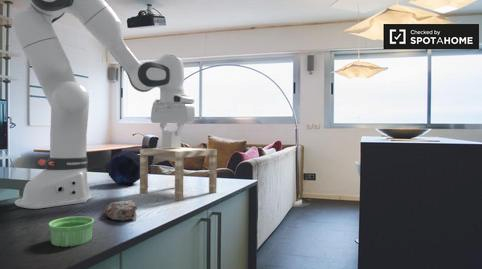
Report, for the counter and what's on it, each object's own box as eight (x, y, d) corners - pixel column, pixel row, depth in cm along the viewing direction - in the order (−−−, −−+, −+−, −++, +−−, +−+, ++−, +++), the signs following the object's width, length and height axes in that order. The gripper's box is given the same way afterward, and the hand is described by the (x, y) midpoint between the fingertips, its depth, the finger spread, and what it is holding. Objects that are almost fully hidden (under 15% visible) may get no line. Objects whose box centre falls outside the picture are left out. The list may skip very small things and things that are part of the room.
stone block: (171, 147, 134) (171, 131, 133) (162, 146, 136) (162, 131, 136) (180, 147, 138) (181, 131, 138) (171, 146, 141) (172, 131, 140)
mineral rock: (102, 212, 105) (102, 197, 105) (131, 210, 108) (131, 195, 108) (106, 226, 91) (106, 209, 91) (138, 223, 94) (138, 206, 94)
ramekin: (38, 244, 76) (38, 224, 76) (72, 233, 85) (72, 214, 85) (70, 250, 73) (71, 229, 73) (102, 238, 82) (102, 218, 81)
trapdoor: (179, 154, 125) (179, 150, 125) (151, 151, 133) (151, 148, 133) (205, 151, 136) (205, 148, 136) (178, 149, 145) (178, 147, 145)
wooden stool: (178, 201, 121) (179, 152, 121) (139, 193, 133) (140, 149, 132) (216, 192, 138) (216, 149, 137) (178, 186, 149) (179, 146, 149)
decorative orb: (103, 175, 141) (127, 144, 145) (98, 170, 154) (120, 142, 158) (132, 195, 147) (155, 164, 151) (125, 189, 160) (146, 161, 164)
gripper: (147, 99, 140) (146, 134, 140) (185, 97, 128) (185, 136, 129) (159, 100, 145) (159, 134, 145) (197, 98, 133) (197, 136, 134)
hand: (171, 135), depth 137 cm, fingers open, 5 cm apart
